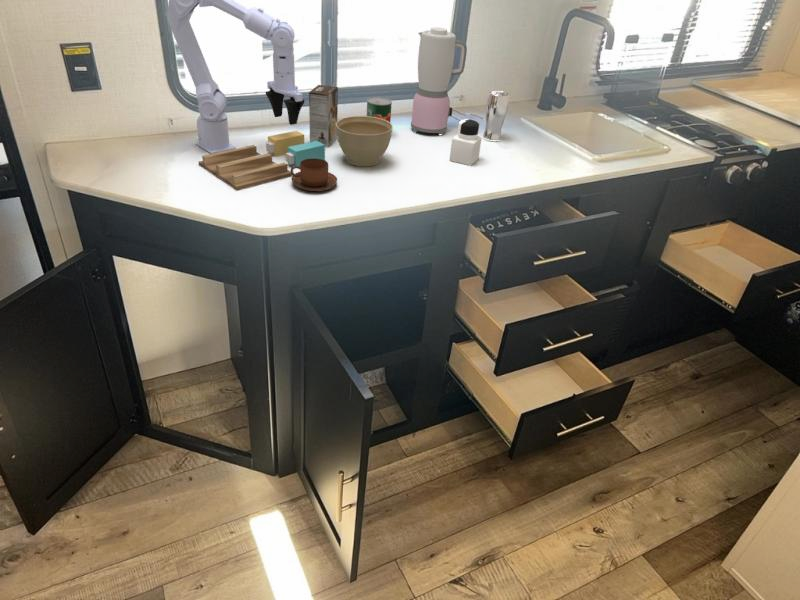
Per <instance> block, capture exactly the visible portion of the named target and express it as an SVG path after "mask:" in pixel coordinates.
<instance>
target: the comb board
mask: <svg viewBox="0 0 800 600" xmlns="http://www.w3.org/2000/svg"><path fill="white" fill-rule="evenodd" d="M257 149H258V148H257V145H254V144H251V145H248V146H247V145H246V146H243V147H239V148H238V147H237V148H236V149H232V150H227V151H223V152H218V153H213V154H211V153H209V154H206V155H202V156H201V157H202V160H200V161H198V165H199V166H200V167H201V168H202V169H204V170H206V171H207V172H209V173H210V174H212V175H213V176H215V177H217V179H219V180H221V181H222V182H224V183H226V184H227V185H228V186H230V187H231V188H233V189H234V190H236V191H240V190H244V189H249V188H252V187H256V186H259V185H260V186H261V185H263V184H267V183H270V182H274V181H278V180H282V179H285V178H289V177H292V176H293V175H292V174H291V172H290V169H288V163H286V162H280V163H277V162H274V161H273V155H272V154H270V153H269V152H268V153H262V154H261V153H259V152H257Z"/></svg>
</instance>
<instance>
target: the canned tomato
mask: <svg viewBox="0 0 800 600" xmlns="http://www.w3.org/2000/svg"><path fill="white" fill-rule="evenodd" d="M392 103H393V102H392V100H391V99H389V98H387V97H378V96H377V97H369V98H367V99H366V116H368V117H376V118H380V119H383V120H386V121H388V122H390V123H391V118H392V117H391V115H392V105H393V104H392Z"/></svg>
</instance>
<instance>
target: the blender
mask: <svg viewBox="0 0 800 600" xmlns="http://www.w3.org/2000/svg"><path fill="white" fill-rule="evenodd" d="M418 35H419V37H420V40H419V46H418V55H417V56H418V58H417V79H418V88H417V91H416V93H415V95H414V97H413V102H412V113H411V121H410V126H411V129H412V132H413V131H414V132H417V133H418V132H421V133H430V134H437V135H438V134H443V135H444V133H445V132H446V131H447V129H448V120H449V117H452V114H453V107H451V106H450V104H451V101H450V98H449V97H450V96H449V95H448V94H449V93H448V87H449V85H450V84H449V83H450V81H451V80H450V79H451V76H454V75H456V76H458V75H461V74H463V73H464V70H465V67H466V66H465V65H466V60H467V59H466V58H467V54H468V53H467V52H468V51H467V50H468V47H467V45H466V43H465V42H464V41H463V40H458V39H457V37H456V35H455V34H454V33H453V32H450V31H448V29H447V28H444V27H431V28H430V30H423V31H422V32H418ZM456 47H459V48H460V49H461V51H460V52H461V53H460V57H459V58H460V61H459V65H458V68H455V69H453V68H454V61H455V60H454V59H455V51H456ZM414 132H413V133H414Z"/></svg>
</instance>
